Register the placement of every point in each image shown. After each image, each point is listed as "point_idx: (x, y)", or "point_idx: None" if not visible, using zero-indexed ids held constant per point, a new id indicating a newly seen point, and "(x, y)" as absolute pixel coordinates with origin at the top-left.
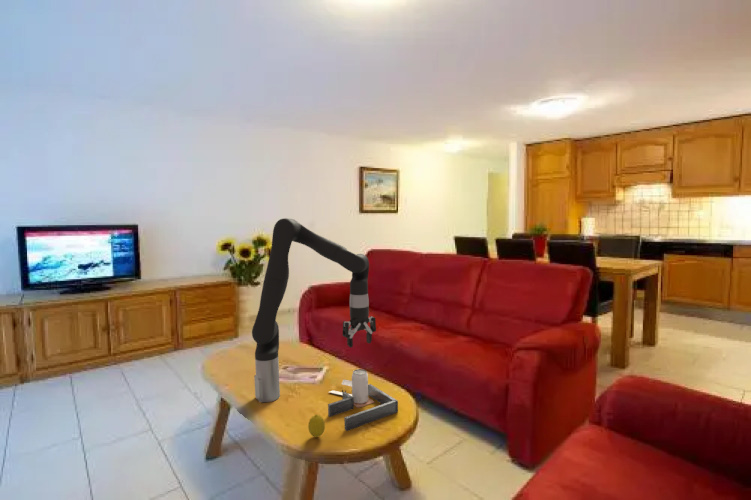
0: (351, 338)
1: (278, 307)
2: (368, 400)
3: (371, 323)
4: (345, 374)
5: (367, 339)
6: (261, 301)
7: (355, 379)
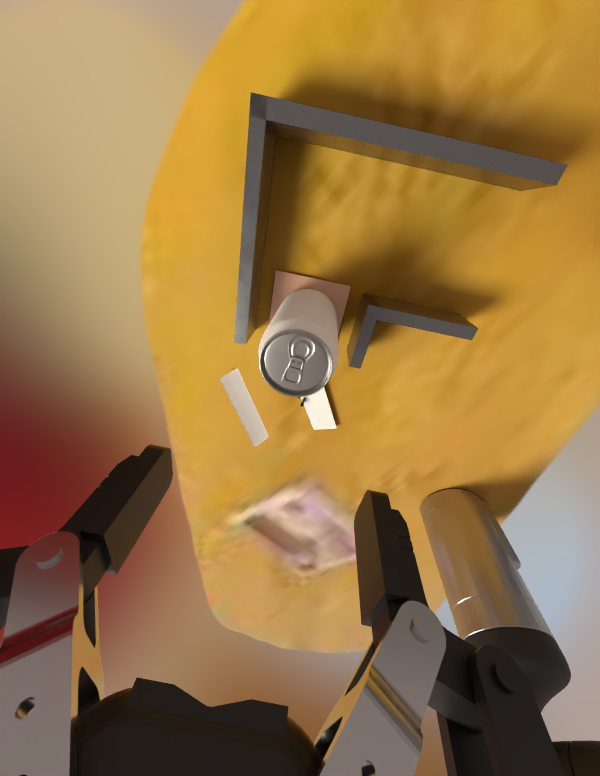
0: (399, 597)
1: None
2: (285, 296)
3: None
4: (220, 466)
5: (154, 496)
6: None
7: (337, 347)
